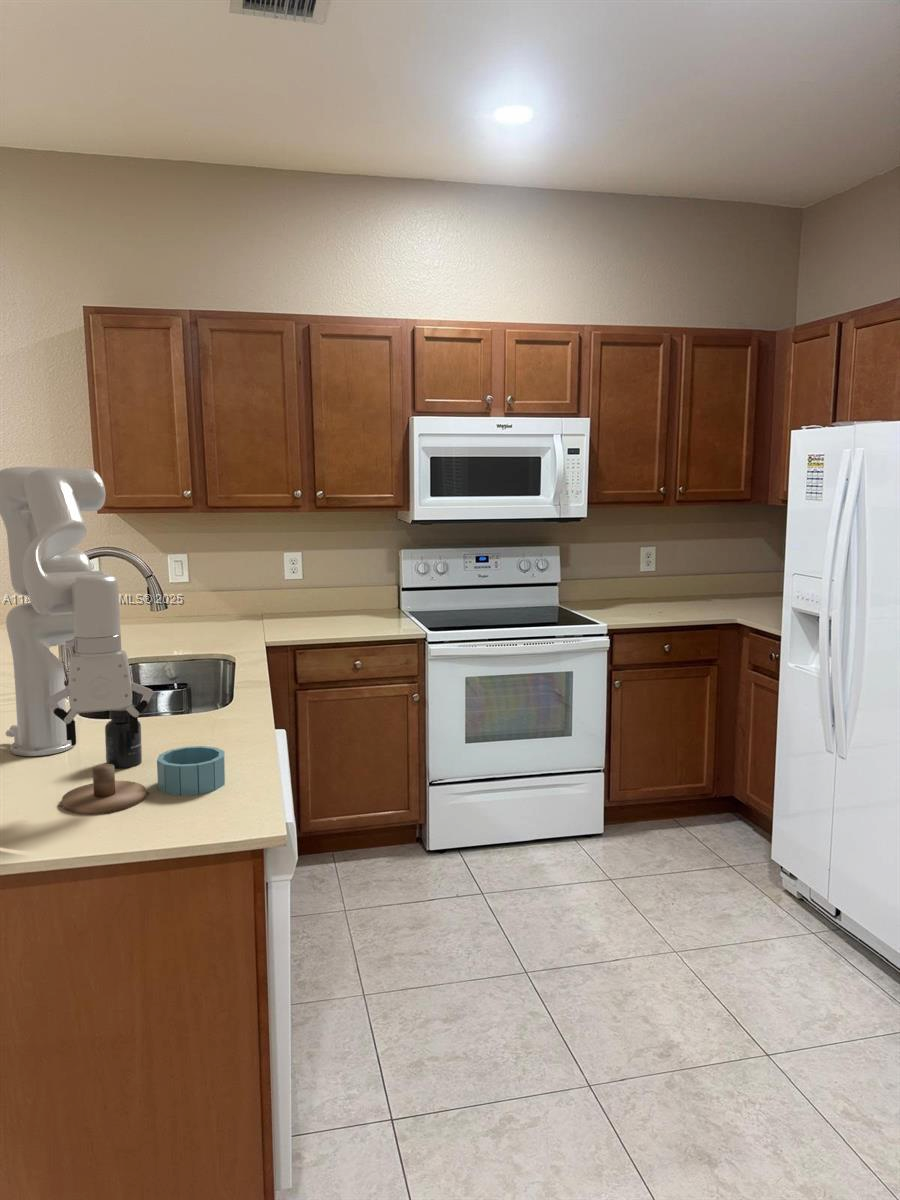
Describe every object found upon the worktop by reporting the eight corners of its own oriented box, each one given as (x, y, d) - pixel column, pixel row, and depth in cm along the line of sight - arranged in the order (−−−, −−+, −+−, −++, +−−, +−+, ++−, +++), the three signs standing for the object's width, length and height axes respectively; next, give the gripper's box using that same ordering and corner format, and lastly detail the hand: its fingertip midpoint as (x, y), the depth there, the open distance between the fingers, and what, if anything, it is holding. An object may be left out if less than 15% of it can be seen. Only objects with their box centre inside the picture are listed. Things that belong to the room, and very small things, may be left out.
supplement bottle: (141, 769, 172) (139, 711, 170) (104, 772, 170) (102, 713, 168) (143, 759, 178) (141, 702, 177) (108, 761, 176) (105, 704, 175)
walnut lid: (44, 808, 149) (42, 775, 149) (99, 782, 163) (97, 751, 162) (111, 818, 145) (109, 784, 144) (162, 790, 159) (161, 759, 158)
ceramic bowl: (145, 793, 159) (143, 761, 158) (183, 773, 170) (182, 743, 169) (201, 800, 155) (200, 768, 154) (237, 779, 166) (236, 749, 166)
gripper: (42, 652, 143) (48, 752, 145) (151, 645, 150) (156, 740, 152) (44, 645, 150) (50, 740, 152) (149, 639, 157) (153, 730, 159)
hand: (103, 740), depth 152 cm, fingers open, 9 cm apart
